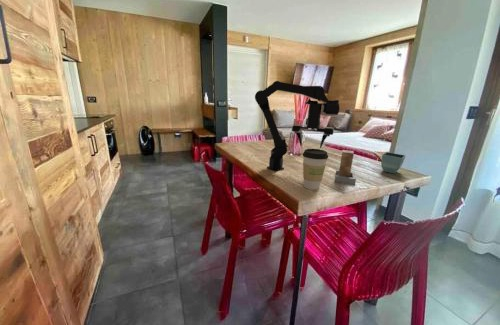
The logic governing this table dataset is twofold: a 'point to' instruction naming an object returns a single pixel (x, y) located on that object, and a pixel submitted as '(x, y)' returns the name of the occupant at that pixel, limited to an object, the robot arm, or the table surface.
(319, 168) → the coffee cup
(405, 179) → the table surface
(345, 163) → the wooden block
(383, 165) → the flower pot
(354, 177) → the u-shaped bracket
